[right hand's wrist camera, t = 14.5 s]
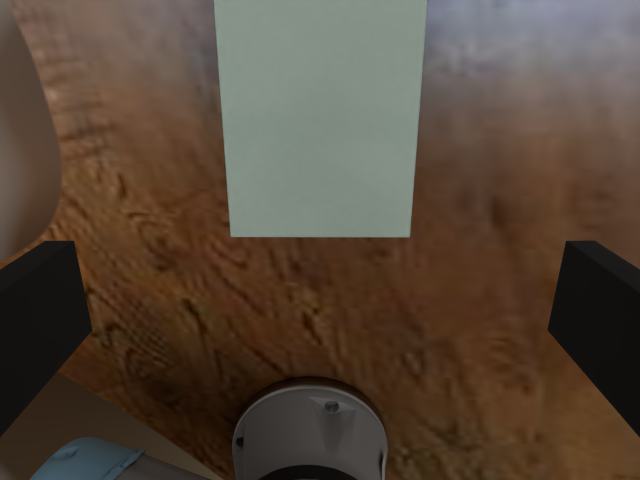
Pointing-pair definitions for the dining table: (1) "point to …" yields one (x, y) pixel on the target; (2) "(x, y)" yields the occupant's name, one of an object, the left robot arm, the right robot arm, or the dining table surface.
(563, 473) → the dining table surface
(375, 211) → the cabinet
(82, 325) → the right robot arm
